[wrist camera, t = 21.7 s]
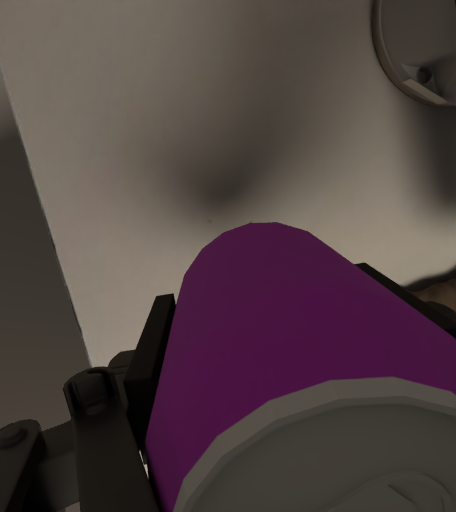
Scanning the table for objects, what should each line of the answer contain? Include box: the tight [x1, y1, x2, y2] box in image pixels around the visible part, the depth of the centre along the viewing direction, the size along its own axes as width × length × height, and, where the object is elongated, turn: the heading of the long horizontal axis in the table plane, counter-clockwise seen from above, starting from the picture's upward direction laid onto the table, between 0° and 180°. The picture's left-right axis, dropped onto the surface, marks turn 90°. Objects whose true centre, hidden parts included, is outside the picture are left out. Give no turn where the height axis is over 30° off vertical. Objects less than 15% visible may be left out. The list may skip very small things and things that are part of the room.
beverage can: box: [145, 222, 456, 512], centre depth 12 cm, size 8×8×12 cm
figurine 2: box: [409, 278, 456, 313], centre depth 38 cm, size 6×4×12 cm
